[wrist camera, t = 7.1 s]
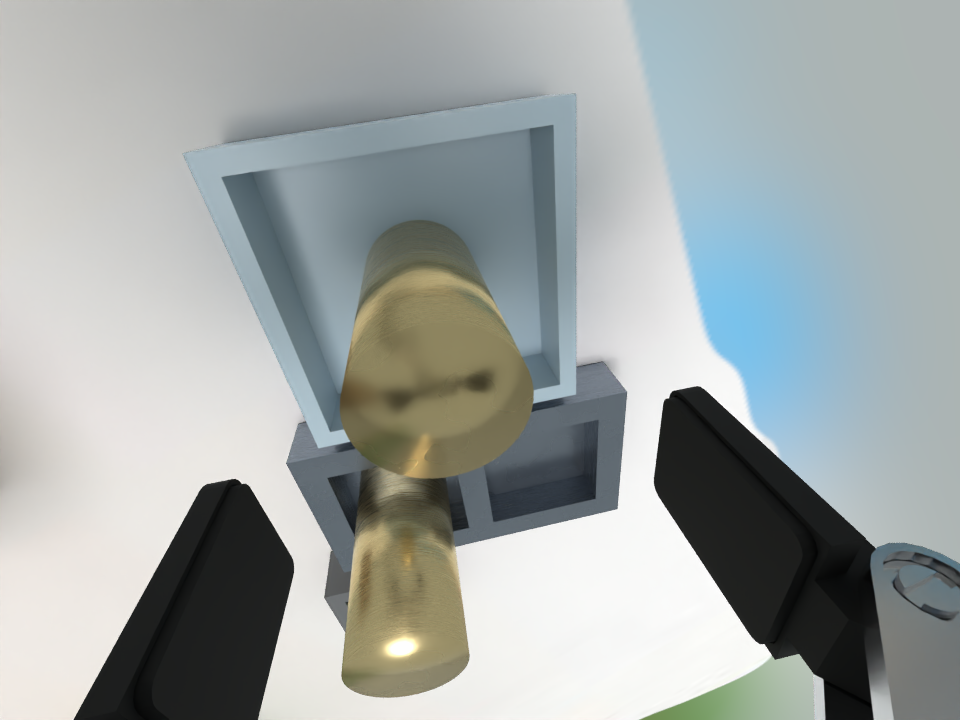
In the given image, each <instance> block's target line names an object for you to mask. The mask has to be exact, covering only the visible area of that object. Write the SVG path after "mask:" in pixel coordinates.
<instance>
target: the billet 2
mask: <svg viewBox="0 0 960 720" xmlns="http://www.w3.org/2000/svg"><path fill="white" fill-rule="evenodd" d="M468 661H469V648H468V641H467V633H466V626H465V618H464V610H463V603H462V595H461V588H460V580H459V572H458V565H457V557H456V550H455V542H454V534H453V527H452V519H451V512H450V504H449V496H448V489H447V481H446V477H445V478H415V477H408V476H403V475H399V474H396V473H393V472H390V471H387V470H385V469H383V468H381V467H376V468H371V469H366V470H362V472H361V477H360V488H359V498H358V508H357V519H356V529H355V539H354V550H353V560H352V571H351V581H350V591H349V602H348V612H347V622H346V633H345V643H344V653H343V664H342V675H341V676H342V680H343V682H344V684H345V685H346V686H347V687H348V688H349V689H351V690H353V691H354V692H357V693H359V694H362V695H366V696H372V697H402V696H409V695H414V694H419V693H422V692H426V691H429V690H432V689H435V688H437V687H439V686H442V685H444V684H445V683H447V682H449V681H451V680H452V679H454V678H455V677H456V676H458V675H459V674H460V673H461V672H462V671H463V670H464V669H465V667H466V666H467V664H468Z"/></svg>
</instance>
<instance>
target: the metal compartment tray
mask: <svg viewBox="0 0 960 720" xmlns="http://www.w3.org/2000/svg"><path fill="white" fill-rule="evenodd" d="M626 399H627V391H626V390H625V389H624V387H623V386H622V385H621V384H620V382H619V381H618V380H617V379H616V377H615V376H614V375H613V374H612V372H611V371H610V370H609V369H608V367H607V366H606V365H605V364H604V362H600V363H595V364H590V365H585V366H580V367H576V395H571V396H566V397H562V398H557V399H552V400H547V401H542V402H538V403H533V407H532V411H531V414H530V418H529V420H528V422H527V424H526V426H525V428H524V430H523V431H522V433H521V434H520V436H519V437H518V439H517V440H516V441H515V442H514V443H513V444H512V445H511V446H510V447H509V448H508V449H507V450H506V451H505V452H504V453H503V454H501V455H500V456H499V457H497V458H496V459H494V460H493V461H491V462H489V463H488V464H486V465H484V466H482V467H480V468H477V469H475V470H472V471H470V472H467V473H463V474H460V475H456V476H450V477H446V481H447V489H448V496H449V504H450V512H451V519H452V527H453V534H454V542H455V547H456V546H461V545H465V544H469V543H474V542H478V541H482V540H486V539H491V538H495V537H499V536H504V535H508V534H512V533H516V532H521V531H525V530H529V529H534V528H538V527H542V526H547V525H551V524H555V523H559V522H564V521H568V520H572V519H577V518H581V517H585V516H590V515H594V514H598V513H602V512H607V511H611V510H615V509H617V508H618V496H619V484H620V472H621V459H622V447H623V435H624V423H625V411H626ZM286 464H287V466H288V468H289V470H290V472H291V473H292V475H293V477H294V479H295V481H296V483H297V485H298V487H299V488H300V490H301V492H302V494H303V496H304V498H305V500H306V502H307V503H308V505H309V507H310V509H311V511H312V513H313V515H314V517H315V518H316V520H317V522H318V524H319V526H320V528H321V530H322V532H323V534H324V535H325V537H326V539H327V541H328V543H329V545H330V547H331V549H332V550H333V552H334V554H335V556H336V558H337V560H338V562H339V564H340V565H341V567H342V569H343V571H344V573H345V572H349V571H352V560H353V550H354V539H355V529H356V519H357V508H358V498H359V488H360V477H361V472H362V470H366V469H371V468H376V467H379V466H377V465H375V464H374V463H372V462H370V461H369V460H368V459H366V458H365V457H364V456H363V455H361V453H360V452H359V451H358V450H357V449H356V448H355V447H354V446H353V444H352V443H351V442H346V443H342V444H337V445H332V446H327V447H323V448H318V446H317V444H316V442H315V440H314V438H313V435H312V433H311V431H310V429H309V427H308V425H307V422H306V423H301V424H298V427H297V430H296V433H295V437H294V440H293V443H292V446H291V450H290V453H289V456H288V460H287V463H286Z"/></svg>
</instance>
